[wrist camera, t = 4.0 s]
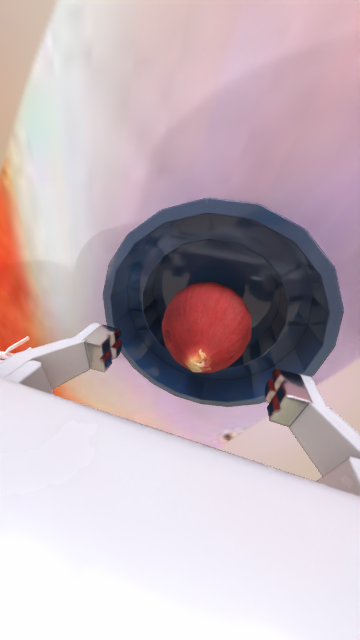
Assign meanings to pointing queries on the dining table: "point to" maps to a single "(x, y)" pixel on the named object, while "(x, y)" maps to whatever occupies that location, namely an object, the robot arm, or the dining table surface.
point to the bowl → (236, 273)
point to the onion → (206, 327)
